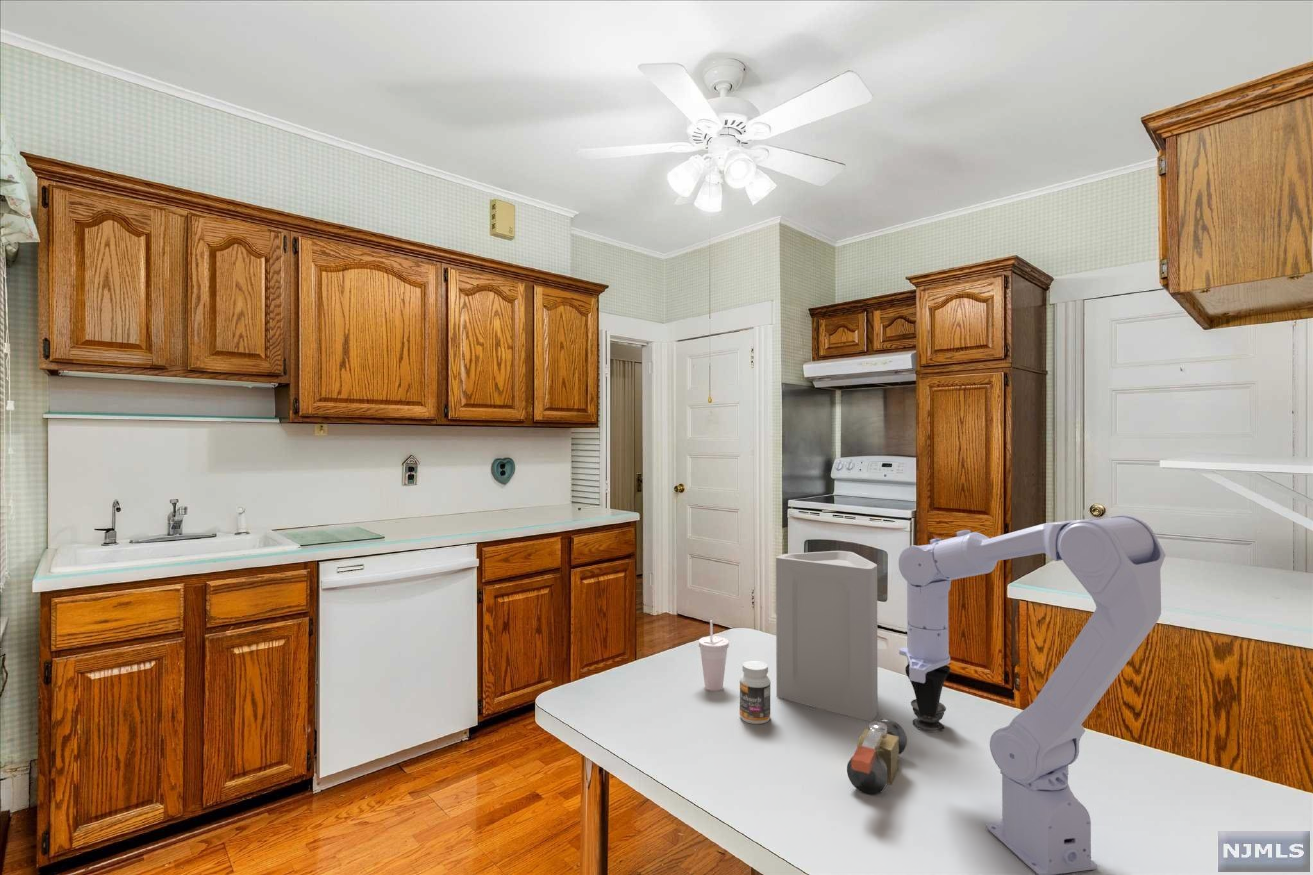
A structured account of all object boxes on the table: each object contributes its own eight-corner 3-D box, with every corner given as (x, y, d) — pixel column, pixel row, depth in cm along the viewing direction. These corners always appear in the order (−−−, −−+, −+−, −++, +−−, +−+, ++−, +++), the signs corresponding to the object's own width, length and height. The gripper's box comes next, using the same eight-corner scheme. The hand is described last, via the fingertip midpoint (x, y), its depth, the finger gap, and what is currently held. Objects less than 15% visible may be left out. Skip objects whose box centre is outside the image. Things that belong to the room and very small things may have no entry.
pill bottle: (735, 721, 113) (735, 667, 113) (745, 708, 118) (745, 657, 118) (765, 727, 111) (764, 672, 111) (774, 715, 116) (774, 662, 116)
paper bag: (893, 693, 125) (892, 556, 125) (871, 721, 113) (870, 569, 113) (803, 673, 136) (803, 546, 136) (774, 696, 124) (774, 557, 124)
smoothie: (693, 684, 130) (692, 618, 130) (719, 678, 133) (719, 614, 133) (708, 695, 124) (707, 626, 124) (735, 690, 127) (734, 622, 127)
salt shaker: (950, 734, 108) (949, 666, 108) (914, 731, 109) (914, 663, 109) (941, 719, 114) (941, 654, 114) (907, 716, 115) (907, 652, 115)
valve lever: (871, 729, 98) (871, 720, 98) (888, 732, 96) (888, 724, 96) (850, 768, 86) (850, 758, 86) (870, 773, 85) (870, 763, 85)
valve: (885, 800, 88) (885, 761, 88) (846, 788, 92) (846, 750, 92) (906, 757, 100) (906, 723, 100) (871, 748, 103) (871, 714, 103)
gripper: (911, 609, 101) (911, 691, 101) (887, 632, 89) (887, 725, 89) (958, 616, 97) (958, 702, 97) (939, 641, 85) (940, 739, 85)
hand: (927, 714), depth 93 cm, fingers closed
